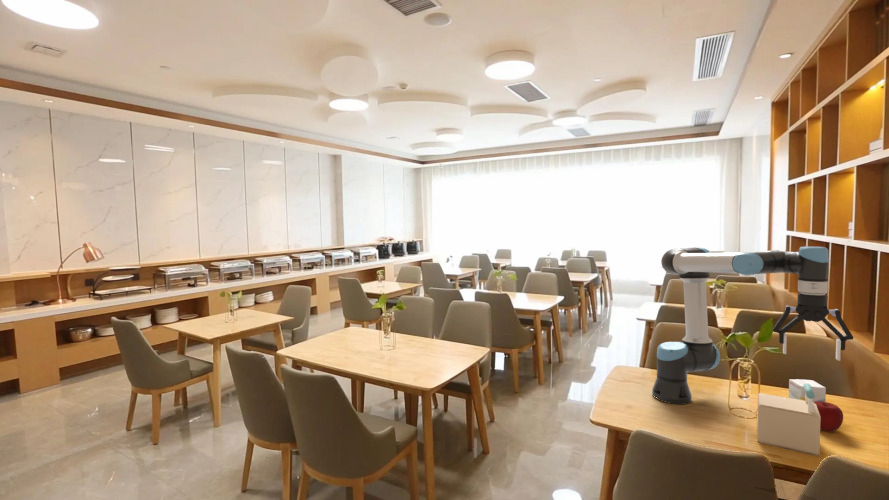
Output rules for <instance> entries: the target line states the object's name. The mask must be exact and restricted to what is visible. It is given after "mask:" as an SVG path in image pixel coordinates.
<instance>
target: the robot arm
mask: <svg viewBox="0 0 889 500" xmlns="http://www.w3.org/2000/svg"><path fill="white" fill-rule="evenodd" d="M829 262H830V259H829V249H828V248H827V247H825V246H800V247H799V249H798V251H787V250H779V249H778V250H767V251H759V252H758V251H757V252H710V250H709V249H706V248H705V247H704V248H703V247H685V248H672V249H668V250H667V251H666V252H665V253H663V255H662V258H661V267H662V269H663V270H664V271H665V272H667V274H670V275H674V276H678V278H679V280H681V281H682V282H683V284H682V285H683V300H684V301H683V303H684V320H685V321H684V322H685V336H684V337H682V339H681V340H682V341H665V342H662V343H660V344H658V346H657V348H656V351H657V352H656V379H655V382H654V384H653V386H652V388H651V391H652V393H651V395H652V394H653V395H654V396H655V397H657V398H658V399H660V400H663V401H666V402H665V403H667V402H670V403H669V404H672V403H675V404H674V405H686V404H690V403H691V402H692V401H693V400H692V393H691V389H690V387H689V384H688V373H694V372H707V371H708V370H709V371H710V370H712V369H715V368H716V367H718V365H719V363H720V360H721V354H720V350H719V348H718V347H717V345H715V344H714V343H713V342H714V341H713V339H712V338H710V336H709V320H708V300H707V281H708V280H709V279H710V274H711V273H713V274H714V273H715V274H717V273H718V274H740V275H744V276H745V275H746V276H753V275H759V274H761V275H762V274H766V275H767V274H779V273H784V274H795V275H796V274H797V291H798V293H797V303H796V304H797V305H796V306H790V305H788V304H786V305H785V306H784V307H785V308H784V312H783V313H782V314H781V316H780V318H778V320H777V322H776V323H775V324H774V326H773V327H772V330H773V331H772V332H774V333H777V334H778V342H779V344H781V345H782V353H783V354H784V355H787V346H788V345H787V339H788V338H787V337H788V335H787V332H788V331H790V330H791V329H792V328H793V327H795V326H796V325H797V324H798V323H800V322H801V321H805V322H814V323H819V322H821V321H822V323H823V324H824V325H826V326H827V327H828V328H829V330H831V331H832V332H833V333H834V334H835V335H836V336H837V338H836V340H835V359H836V361H839V362H841V351H845V350H846V341H848V340H851V341H852V340H854V336H853V334H852V332H851V331H850V330H849V329H850V328H849V327H847V325H846V323H845V322H844V320H843V318H842V316H841V315H842V314H841V310H839V309H838V308H834V309H828V308H829V307H828V295H827V294H828V287H829V281H828V280H829V278H828V277H829V264H830V263H829ZM794 311H795V312H796V313H797V315H796V316H795V317H794V318H793V319H791V320H790V321H789V322H788V323H787V324H785V325H784V326H783V327H782V325H783V324H784V323H785V321H786V320H787V318H788V317H789V315H790V314H792V313H793V312H794ZM829 314H831V315H832V317H835V319H836V321H837V323H838V325H839V326H840V327H841V329H842V330H843V332H844V335H843V334H842V333H841V332H840V331H839V330H838V329H837V328H836V327H835V326H834V325H833V324H832V322H830V321H829V320H828V319H827V318H826V317H827V316H828V315H829ZM780 328H781V329H780ZM653 395H652V396H653ZM655 397H654V398H655ZM658 399H657V400H658ZM660 400H659V401H660ZM663 401H662V402H663Z"/></svg>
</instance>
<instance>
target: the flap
mask: <svg viewBox="0 0 889 500" xmlns="http://www.w3.org/2000/svg"><path fill="white" fill-rule="evenodd" d="M804 389H805V401H803V400H798V399H792V398H789V397H784V396H779V395H774V394H768V393H762V392H758V394H759V405H760V406H766V407H771V408H776V409H782V410H787V411H793V412H798V413H803V414H809V415H814V416H818V413H817V410H816V407H815V405H814V402H812V399H813V398H814V397H815V396H814V393H813V390H812V387H811V385H810V384H808V383H806V384H804Z"/></svg>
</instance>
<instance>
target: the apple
mask: <svg viewBox="0 0 889 500" xmlns="http://www.w3.org/2000/svg"><path fill="white" fill-rule="evenodd" d="M814 404H816V406H817V408H818V411H819V414H820V417H821V420H820V431H823V432H835V431H837V430H838V429H840V427H841V425H843V422H844V413H843V410H842V409H841V408H840V407H839V406H837V404H834V403H830V402H827V401H825V402H823V401H815V402H814Z"/></svg>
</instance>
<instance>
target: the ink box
mask: <svg viewBox="0 0 889 500" xmlns="http://www.w3.org/2000/svg"><path fill="white" fill-rule="evenodd" d="M788 380H789V381H788V398H792V399H798V400H803V401H805V389H804V384H806V383H808V384H810V385H811V387H812V390H813V393H814V396H815V397H814V398H813V399H812V402H815V401H823V402H826V393H827V392H826V391H827V388H826V386H823V385H821V384H820V383H818V382H817V381H815V380H811V379H799V378H796V379H788Z"/></svg>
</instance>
